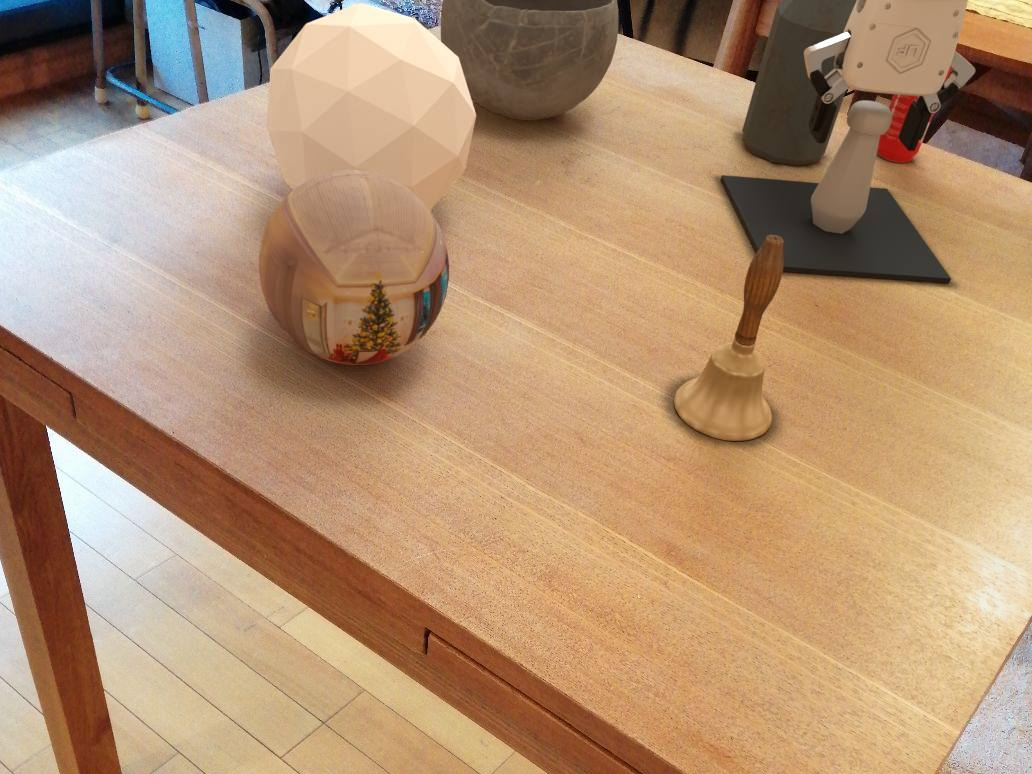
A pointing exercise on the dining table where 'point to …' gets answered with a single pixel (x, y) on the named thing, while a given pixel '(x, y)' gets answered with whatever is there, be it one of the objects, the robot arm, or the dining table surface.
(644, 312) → the dining table surface
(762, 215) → the mat
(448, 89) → the ball
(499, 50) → the bowl
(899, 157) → the beverage can
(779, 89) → the bottle
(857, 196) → the salt shaker
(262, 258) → the ornament
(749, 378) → the hand bell
